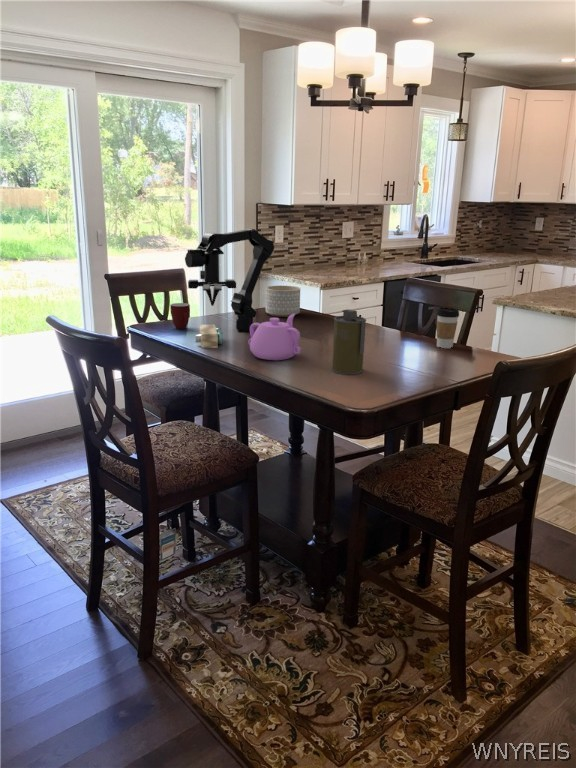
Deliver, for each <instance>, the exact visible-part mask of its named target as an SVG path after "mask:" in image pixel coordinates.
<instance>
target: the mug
mask: <svg viewBox="0 0 576 768" xmlns="http://www.w3.org/2000/svg"><path fill="white" fill-rule="evenodd" d="M169 305H170V310H169V311H170V315H171V320H172V323H173V325H174V327H175V329H178V330H183V329H186V327H187V326H188V323H189V319H190V313H191V305H190V303H185V302H176V303H171V304H169Z"/></svg>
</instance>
